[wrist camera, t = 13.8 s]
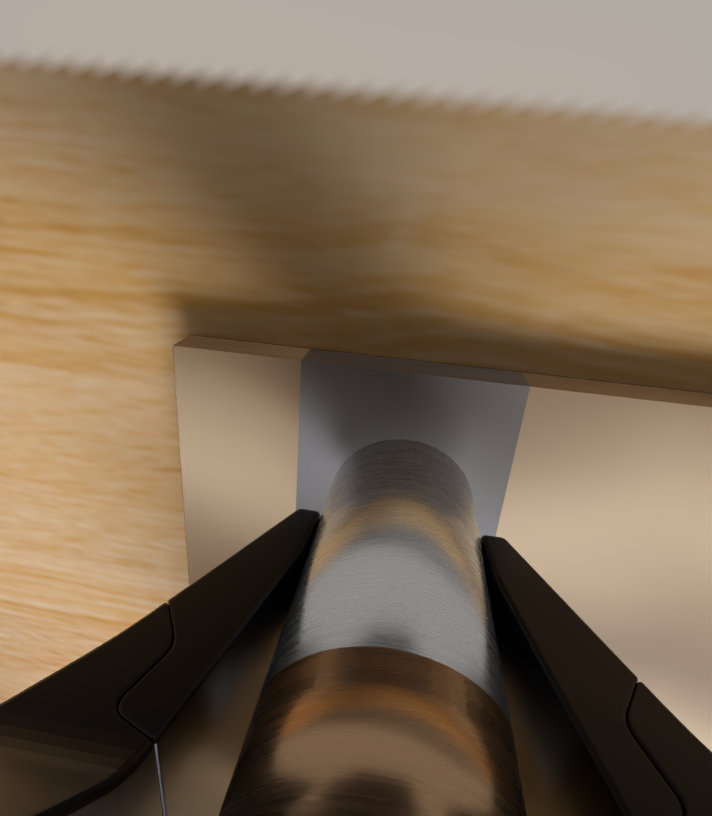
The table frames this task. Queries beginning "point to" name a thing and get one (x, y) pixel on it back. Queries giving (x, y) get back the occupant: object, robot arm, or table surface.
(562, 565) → the beige flat piece
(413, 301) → the table surface
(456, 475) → the metal peg
